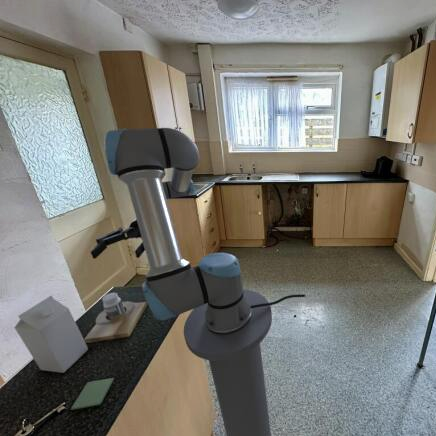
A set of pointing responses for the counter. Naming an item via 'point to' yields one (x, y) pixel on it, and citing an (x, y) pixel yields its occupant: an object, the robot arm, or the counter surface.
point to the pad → (93, 393)
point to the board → (116, 323)
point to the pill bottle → (113, 306)
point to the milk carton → (51, 335)
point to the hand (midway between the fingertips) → (115, 254)
